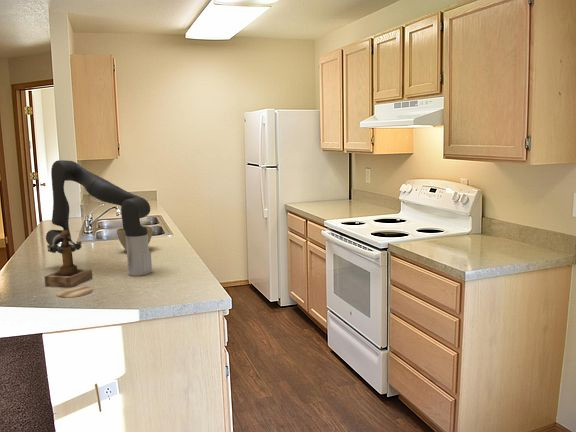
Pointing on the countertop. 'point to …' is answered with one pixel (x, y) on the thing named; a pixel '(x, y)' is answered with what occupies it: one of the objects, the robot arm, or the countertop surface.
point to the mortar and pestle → (67, 256)
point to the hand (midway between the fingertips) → (67, 250)
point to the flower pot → (122, 235)
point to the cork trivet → (74, 291)
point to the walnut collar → (68, 278)
